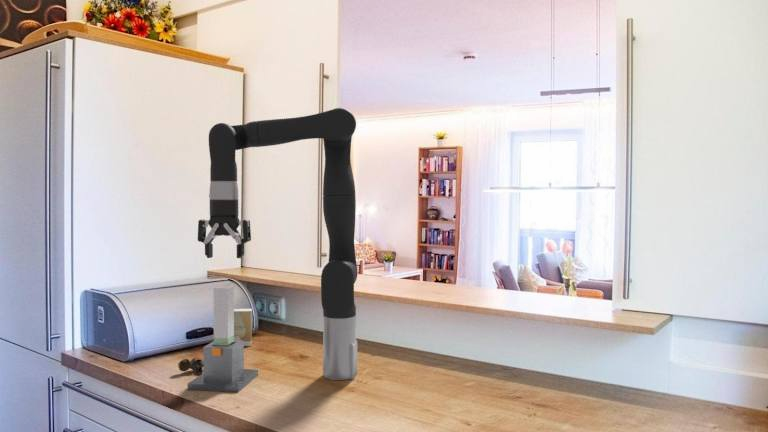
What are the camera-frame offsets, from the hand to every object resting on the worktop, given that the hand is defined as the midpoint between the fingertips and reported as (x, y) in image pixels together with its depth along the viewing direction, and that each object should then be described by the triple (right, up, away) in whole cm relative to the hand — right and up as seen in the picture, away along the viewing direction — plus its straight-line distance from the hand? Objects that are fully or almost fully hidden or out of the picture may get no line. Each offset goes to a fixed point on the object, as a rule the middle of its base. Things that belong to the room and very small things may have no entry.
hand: (224, 257), depth 149 cm
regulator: (-9, -34, +11) cm, 37 cm away
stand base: (0, -34, +1) cm, 34 cm away
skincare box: (-5, -33, +39) cm, 51 cm away
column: (0, -26, 0) cm, 26 cm away
